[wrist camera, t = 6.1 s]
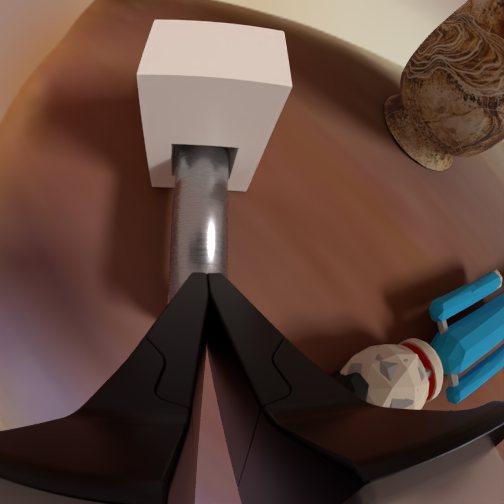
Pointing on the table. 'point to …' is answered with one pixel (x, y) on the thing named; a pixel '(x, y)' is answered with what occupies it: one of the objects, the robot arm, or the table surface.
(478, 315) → the toy
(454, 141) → the vase
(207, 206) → the metal cylinder
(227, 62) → the white block
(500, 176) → the table surface
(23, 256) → the table surface
